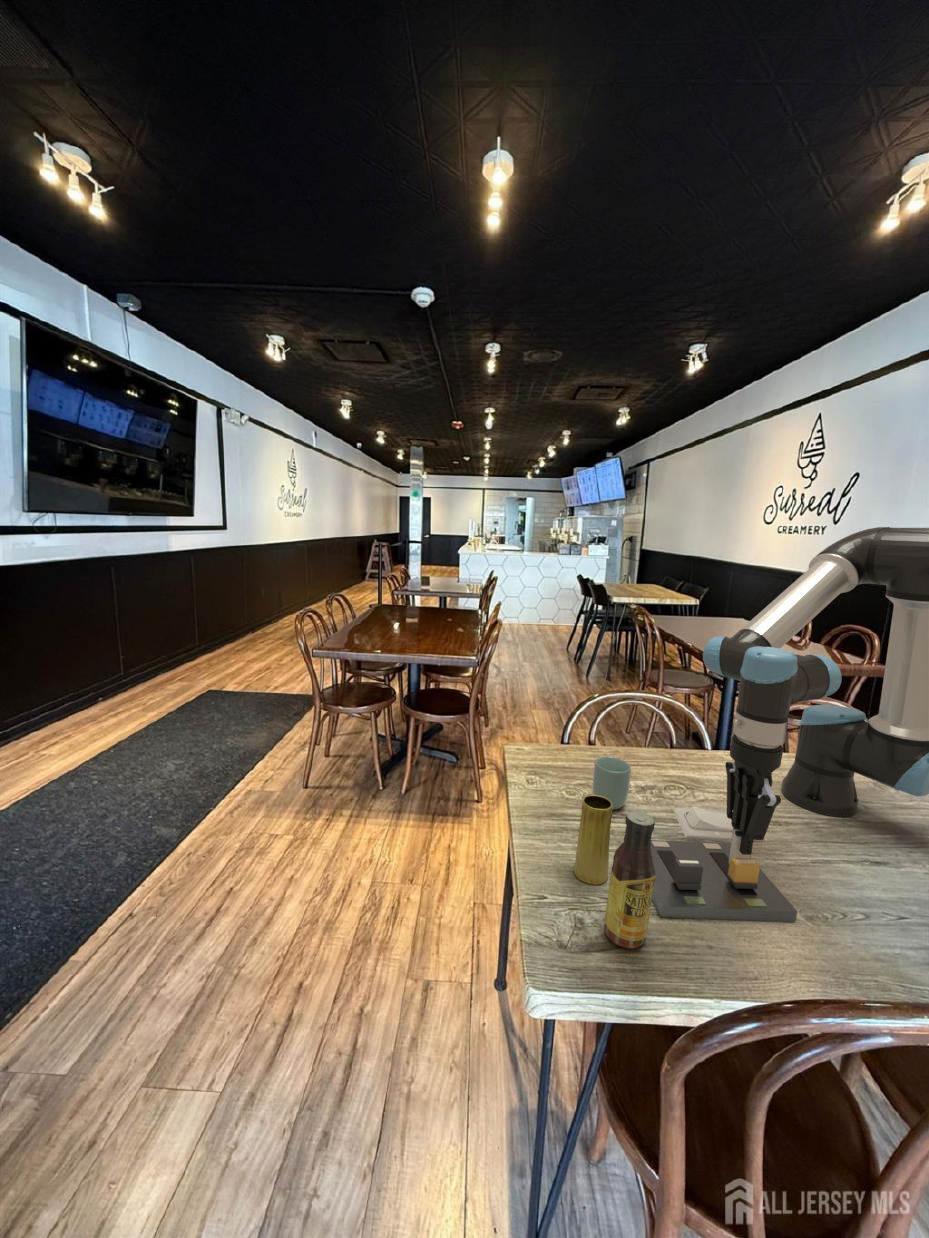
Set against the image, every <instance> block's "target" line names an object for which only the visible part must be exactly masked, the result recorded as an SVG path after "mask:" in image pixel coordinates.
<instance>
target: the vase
mask: <svg viewBox="0 0 929 1238" xmlns="http://www.w3.org/2000/svg"><path fill="white" fill-rule="evenodd" d="M581 803H582V805H581V812H580V813H581V815H580V821H579V828H578V837H577V845H576V852H575V861H574V865H573V874H574V875H575V877H576V878H577V879H578V880H579V881H581V882H583V883H586V884H588V885H602V884H605V883H606V882H607V881H608V878H609V875H608V874H609V858H610V855H609V854H610V852H609V851H610V840H611V826H612V817H613V811H614V810H613V804H612V802H611V801H610V800H609V799H608V798H606V797H603V796H600V795H593V793H592V794H587V795H584V796H583V797H582V802H581Z"/></svg>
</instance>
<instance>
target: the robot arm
mask: <svg viewBox="0 0 929 1238" xmlns="http://www.w3.org/2000/svg"><path fill="white" fill-rule="evenodd" d="M862 584H876V585H882V586H886V592H885V597H886V598H887V599H888V600H889V601H890V602H891V603H892V604H893V608H892V609H893V610H892V616H891V617H892V618H891V624H890V631H889V638H888V646H887V653H886V660H885V667H884V674H883V682H882V689H881V693H880V694H881V696H880V702H879V709H878V710H879V711H878V714H876V715H874V716H872V717H870V718H869V719H868V720H867V721H866V719H867V717H866V713H865V712H864V711H861V710H860V709H858V708H855V707H854V708H853V707H848V706H842V705H834V704H832V705H831V704H815V705H810V706H808V707H806V708H805V709H804V710H803V712H802V716H801V720H800V722H799V732H798V737H797V744H796V749H795V750H796V751H795V756H794V762H793V763H792V765H791V766H790V768H789V771H788V772H787V774H786V775H785V777H784V778H783V779H782V781H781V786H780V787H781V788H780V790H781V793H782V795H783V796H784V797H785V798H786V799H787V800H788V801H790V802H792V803H793V804H795V805H797V806H800V807H801V808H804V809H806V810H809V811H812V812H814V813H818V814H822V815H826V816H831V817H839V818H841V817H842V818H844V817H845V818H846V817H851V816H855V815H856V814H857V812H858V809H859V807H858V806H859V799H858V794H857V787H856V783H855V779H854V776H855V774H858V775H861V776H862V777H865V778H868V779H870V780H872V781H875V782H878V783H880V784H882V785H885V786H887V787H889V788H892V789H894V790H895V791H900V792H903V793H906V794H908V795H911V796H914V797H925V796H927V795H929V527H889V526H878V527H871V528H867V529H864V530H860V531H857V532H855V533H852V534H849V535H847V536H845V537H843V538H841V539H839V540H837V541H835V542H833V543H832V544H831V545H828V546H827V547H826V548H824V549H823V550H822V551H820V552H819V553H818V554H817V555H815V557H813V558H812V559H811V560H810V562H809V564H808V568H807V570H806V571H804V573H803V574H802V575H800V576H799V577H798V578H797V579H796V580H795V581H793V583H791V584H790V585H789V586H788V587H786V589H784V590H783V591H782V592H781V593H780V594H779V595H778V596H777V597H775V598H774V599H773V600H772V601H771V602H770V603H769V604H768V605H767V606H765V608H763V609H762V610H761V611H760V612H759V613H757V615H755V616H754V617H753V618H752V619H751V620H750V621H748V622H747V623H746V624H745V625H744V626H742V628H740V629H739V630H738V632H736V633H734V635H732V636H731V637H728V636H722V635H721V636H720V635H718V636H715V637H712V638H710V639H709V640H708V641H707V643H706V645H705V646H704V649H703V651H702V661H703V664H704V667H706V669H707V670H709V671H710V672H712V673H715V674H718V675H720V676H722V677H724V678H729V679H732V680H736V681H738V682H739V687H738V695H737V696H738V697H737V705H736V708H735V709H736V711H735V719H734V720H733V724H734V725H733V734H734V735H732V736H731V742H730V743H731V744H730V749H729V755H730V757H731V759H732V760H733V761H725V763H724V764H725V773H726V811H727V817H728V819H731V820H732V822H731V824H732V827H733V833H732V843H731V849H730V856H729V864H730V858H749V859H750V857H751V855H752V852H753V847H754V845H753V844H754V841H764V839H765V837H766V835H767V832H768V829H769V826H770V823H771V821H772V818H773V816H774V815H773V814H774V813H775V810H776V808H777V807H778V806H779V805H780V804H781V803H782V798H781V796H780V795H778V794H774V792H773V789H772V786H773V776H772V774H773V773H774V771H776V770H778V769H780V767H781V766H782V765H781V764H782V759H783V753H784V746H783V745H785V743H786V735H787V729H788V722H789V720H788V719H789V715H790V710H791V709H790V708H791V704H795V703H801V702H808V701H817V700H821V699H824V698H825V697H829V696H832V695H834V694H835V693H836V692H837V691H838V690H839V689H840V686H841V684H842V672H841V669H840V667H839V666H838V665H837V663H836V662H835V661H834V660H832V659H831V658H829V657H827V656H824V655H820V654H805V655H801V654H798V653H797V654H796V653H794V652H792V651H790V650H787V649H783V647H784V646H785V645H786V644H787V643H788V642H789V641H791V639H793V637H795V636H796V635H797V634H798V633H799V632H800V631H801V630H802V629H803V628H804V627H805V626H807V625H808V623H810V622H811V621H812V620H814V618H815V617H816V616H818V614H820V613H821V612H822V611H823V610H824V609H825V608H826V607H828V605H829V604H831V602H833V600H835V599H836V598H837V597H838V596H839V595H840V594H843V593H848V592H850V591H851V590H853V589H855V587H857V586H858V585H862Z"/></svg>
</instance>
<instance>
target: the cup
mask: <svg viewBox="0 0 929 1238" xmlns="http://www.w3.org/2000/svg"><path fill="white" fill-rule="evenodd" d="M631 774H632V767H631V764H630V763H629V762H627V761H626V760H624V759H621V758H618V757H615V756H600V757H598V758H597V759H595V762H594V766H593V777H592V794H593V795H600V796H603V797H606V798H608V799H609V800H610V801H611V802H612V804H613V810H612V811H614V810H619V809H620V808H622V807H624V805H625V803H626V802H627V798H628V796H629V795H628V794H629V791H630V783H631Z"/></svg>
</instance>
